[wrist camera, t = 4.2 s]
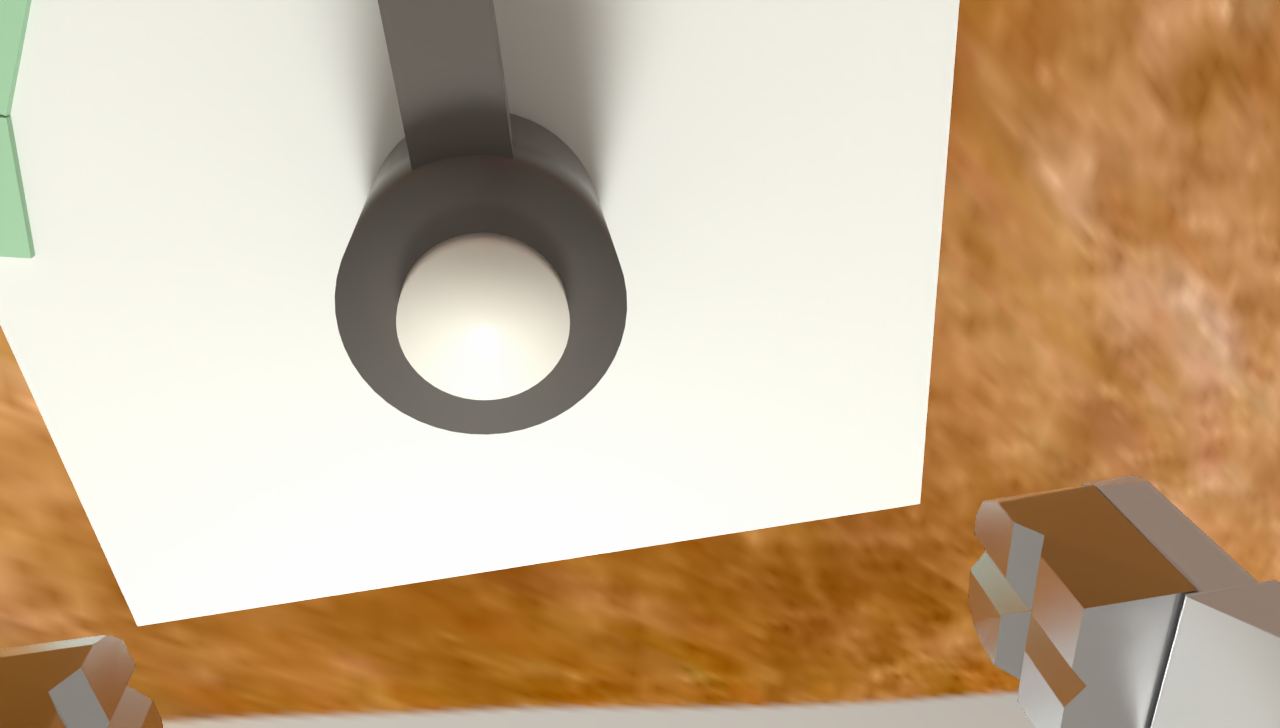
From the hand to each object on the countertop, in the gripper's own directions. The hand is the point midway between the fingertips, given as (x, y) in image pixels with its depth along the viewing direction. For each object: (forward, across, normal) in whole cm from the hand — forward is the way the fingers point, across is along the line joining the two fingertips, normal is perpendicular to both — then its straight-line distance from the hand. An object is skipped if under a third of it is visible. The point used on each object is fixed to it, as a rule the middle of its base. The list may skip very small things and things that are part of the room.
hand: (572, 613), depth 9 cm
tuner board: (+15, +1, 0) cm, 15 cm away
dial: (+13, +1, -3) cm, 14 cm away
